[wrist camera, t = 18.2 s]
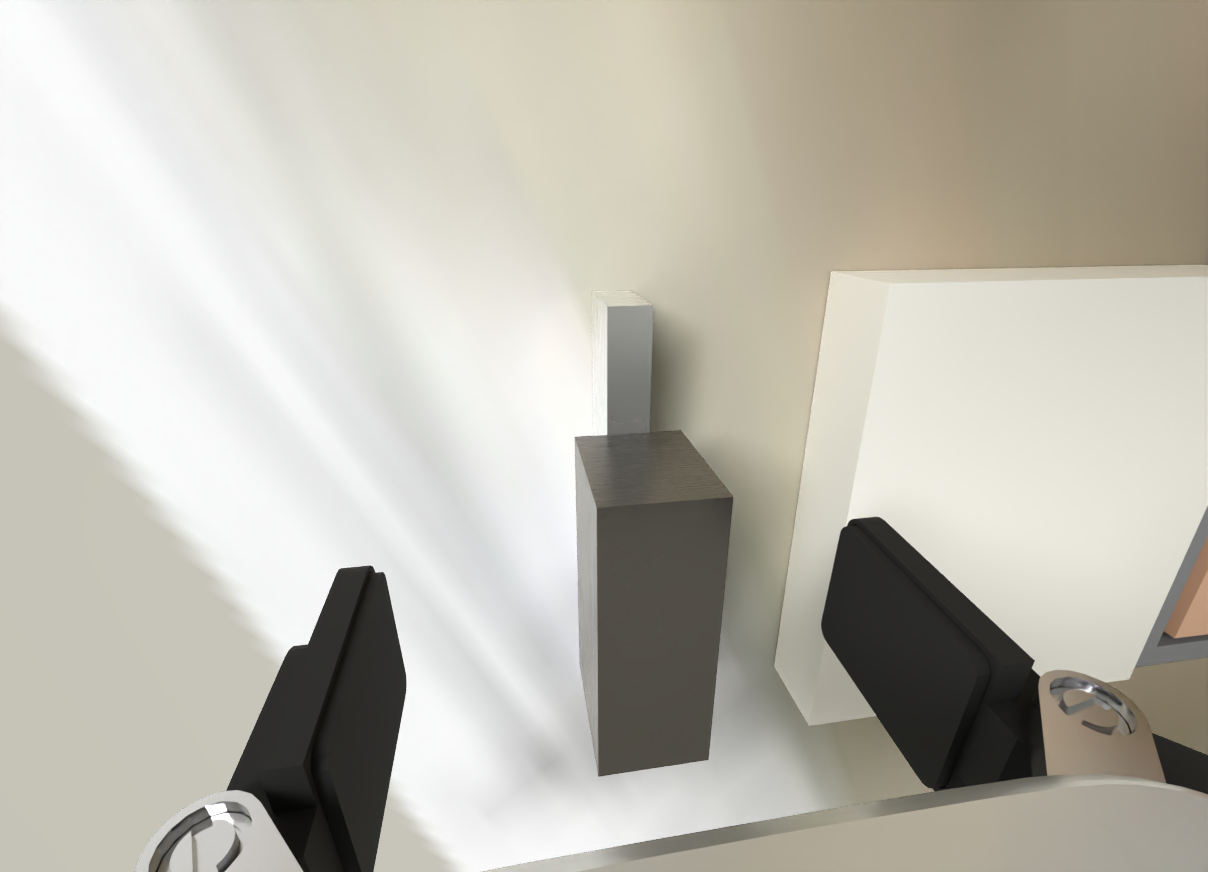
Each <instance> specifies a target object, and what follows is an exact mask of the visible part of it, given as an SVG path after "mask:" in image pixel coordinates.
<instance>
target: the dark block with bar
mask: <svg viewBox="0 0 1208 872" xmlns="http://www.w3.org/2000/svg"><path fill="white" fill-rule="evenodd" d="M653 307H654V305H652V304H651V303H649V302H648V301H646V300H645V299H643V298H642V297H640V296H639V295H637V294H636V293H634V292H633V291H631V290H622V291H592V390H593V436H582V437H575V470H576V516H577V561H578V607H579V652H580V669H581V675H582V681H583V687H584V693H585V699H586V705H587V711H588V717H589V723H590V729H591V735H592V741H593V747H594V753H595V759H596V765H597V771H598V777H599V776H605V775H612V774H618V773H625V772H631V771H638V770H644V769H651V768H658V767H664V766H671V765H677V764H684V763H690V762H697V761H704V760H708V758H709V748H710V737H711V726H712V716H713V705H714V695H715V684H716V673H717V663H718V652H719V642H720V631H721V620H722V610H723V599H724V589H725V578H726V567H727V557H728V546H729V536H730V525H731V514H732V504H733V496H732V495H731V493H730V492H729V491H728V490H727V488H726V487H725V486H724V485H723V483H722V482H721V481H720V479H719V478H718V477H717V476H716V474H715V473H714V472H713V471H712V469H711V468H710V467H709V466H708V464H707V463H706V462H705V460H704V459H703V458H702V457H701V455H700V454H699V453H698V452H697V450H696V449H695V448H694V446H693V445H692V444H691V443H690V441H689V440H688V439H687V438H686V436H685V435H684V434H683V433H682V431H681V430H679V431H663V432H650V404H651V372H652V339H653Z"/></svg>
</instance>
